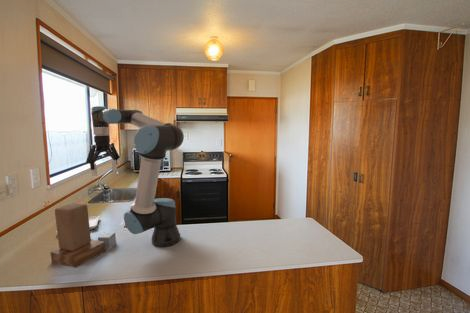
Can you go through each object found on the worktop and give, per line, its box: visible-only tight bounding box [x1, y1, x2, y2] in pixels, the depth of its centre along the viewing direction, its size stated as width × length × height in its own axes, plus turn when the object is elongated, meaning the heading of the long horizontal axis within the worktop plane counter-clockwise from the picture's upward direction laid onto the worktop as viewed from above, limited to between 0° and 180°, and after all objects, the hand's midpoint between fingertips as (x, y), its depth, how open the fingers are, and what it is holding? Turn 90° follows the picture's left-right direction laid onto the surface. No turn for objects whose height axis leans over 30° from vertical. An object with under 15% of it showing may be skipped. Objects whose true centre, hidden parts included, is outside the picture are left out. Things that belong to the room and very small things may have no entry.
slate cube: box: [97, 231, 117, 249], centre depth 134 cm, size 6×6×6 cm
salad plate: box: [55, 215, 101, 234], centre depth 160 cm, size 21×21×3 cm
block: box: [54, 203, 92, 251], centre depth 122 cm, size 10×10×20 cm
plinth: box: [50, 238, 107, 269], centre depth 123 cm, size 16×16×5 cm
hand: (105, 173), depth 142 cm, fingers open, 13 cm apart
